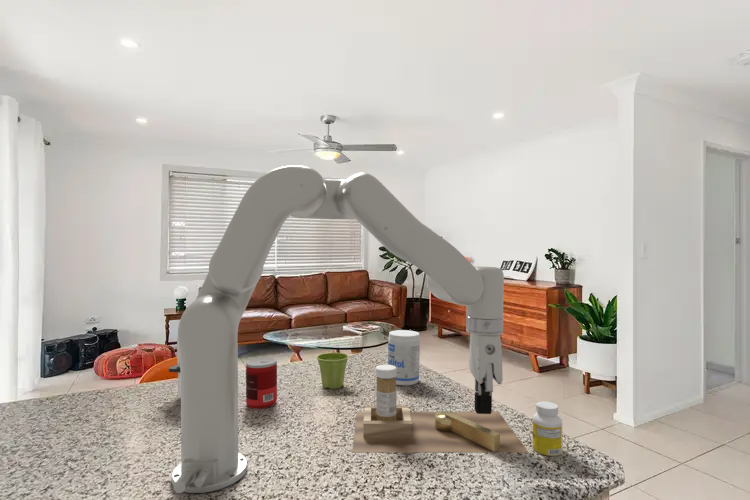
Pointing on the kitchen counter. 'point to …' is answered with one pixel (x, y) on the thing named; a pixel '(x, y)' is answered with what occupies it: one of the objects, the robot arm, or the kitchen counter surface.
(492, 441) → the lever
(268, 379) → the canned food
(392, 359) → the supplement tub
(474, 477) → the kitchen counter surface
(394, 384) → the spice jar
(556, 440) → the supplement bottle
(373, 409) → the socket
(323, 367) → the plant pot
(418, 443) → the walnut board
